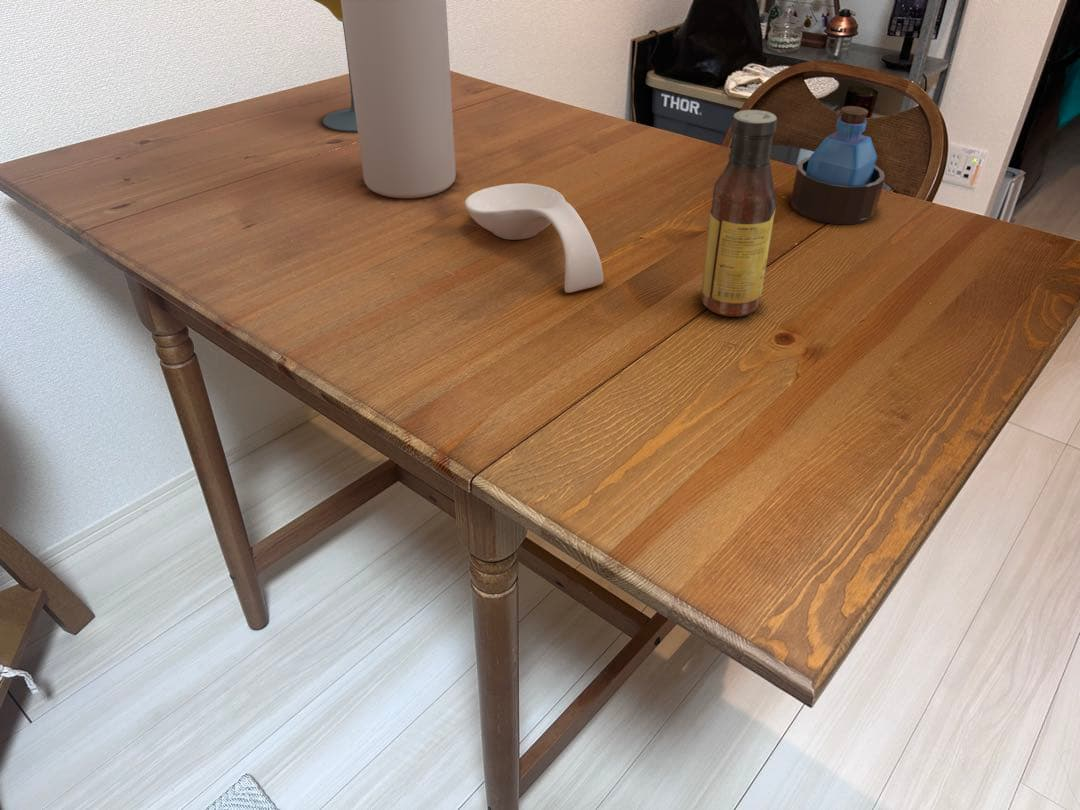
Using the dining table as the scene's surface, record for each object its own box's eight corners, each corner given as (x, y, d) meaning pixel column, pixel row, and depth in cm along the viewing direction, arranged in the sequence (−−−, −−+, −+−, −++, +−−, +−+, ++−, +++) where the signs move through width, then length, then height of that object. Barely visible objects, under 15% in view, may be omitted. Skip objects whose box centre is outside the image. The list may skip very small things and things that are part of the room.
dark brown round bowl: (872, 196, 110) (882, 159, 106) (876, 229, 101) (887, 191, 98) (791, 187, 112) (798, 151, 109) (789, 218, 104) (797, 181, 101)
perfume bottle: (844, 217, 103) (868, 122, 96) (799, 203, 106) (819, 110, 99) (864, 202, 107) (889, 109, 99) (820, 189, 110) (841, 99, 102)
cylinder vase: (418, 158, 119) (401, -34, 104) (474, 182, 112) (466, -19, 97) (346, 181, 112) (317, -21, 96) (402, 209, 105) (380, -4, 90)
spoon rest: (451, 219, 103) (447, 164, 98) (533, 201, 107) (533, 148, 103) (540, 304, 86) (541, 243, 82) (633, 279, 91) (638, 219, 86)
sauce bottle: (770, 309, 86) (811, 120, 74) (728, 326, 83) (762, 133, 71) (726, 283, 90) (757, 101, 78) (684, 299, 87) (710, 112, 75)
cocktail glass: (377, 96, 142) (358, -69, 126) (434, 123, 131) (422, -53, 115) (280, 117, 132) (248, -58, 117) (333, 148, 122) (306, -40, 106)
